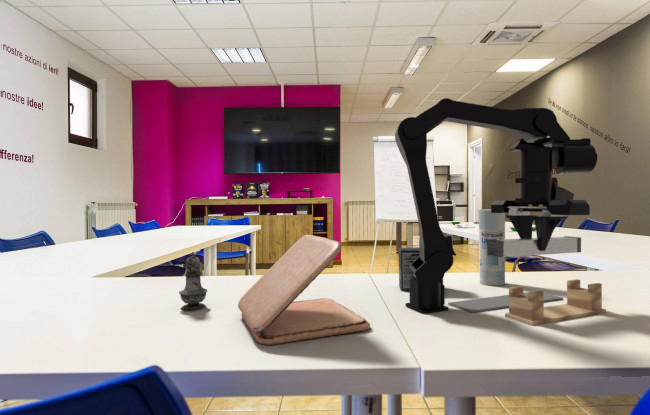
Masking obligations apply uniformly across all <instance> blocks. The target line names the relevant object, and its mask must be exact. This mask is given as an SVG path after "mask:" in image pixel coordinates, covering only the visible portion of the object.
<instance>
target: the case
mask: <svg viewBox="0 0 650 415" xmlns="http://www.w3.org/2000/svg"><path fill="white" fill-rule="evenodd" d="M341 250H342V243H341V242H340V241H338V240H333V239H329V238H327V237H324V236H323V237H322V236H318V235H312V234H305V235H302V236H301V237H300V238H299V239H297V240H296V241H295V242H294V244H292V246H291V247H290V248H288V250H287V251H286V252H284V254H283V255H282V256H281V257H280V258H279V259H278V260H276V262H275V263H274V264H273V265H272V266H271V267H270V268H269V269H268V270H267V271H266V272H265V273H264V274H263V275H262V276H261V277H259V279H258V280H257V281H256V282H255V283H254V284H252V286H251V287H250V288H249V289H248V290H247V291H246V292H245V293H244V294H243V295H242V297H241V298H240V299H239V301H238V303H237V308H238V309H239V311H240V312H241V314H240V315H241V318H242V319H243V320H244V322H245V323H246V325H247V327H248V328H249V330H250V332H251V334H252V335H253V337H254V339H255V341H256V342H257V343H258V344H260V345H264V346H271V345H281V344H286V343H287V344H288V343H294V342H298V341H304V340H305V341H306V340H311V339H317V338H324V337H331V336H337V335H345V334H352V333H358V332H364V331H365V332H366V331H368V330H369V329H370V327H371V323H370V322H369V321H367V320H366V318H364V317H363V316H361V315H359V314H356V312H354V311H352V310H351V309H349V308H348V307H346V306H344V305H342V304H340V303H338V302H337V301H335V300H333V299H331V298H326V297H325V298H315V299H306V300H305V299H304V300H296V299H297V298H298V297H299V296H300V295H301V294H302V293H303V292H304V291H305V290H306V289H307V288H308V287H309V286H310V284H312V283H313V282H314V281H315V280H316V279H317V278H318V276H319V275H320V274H321V273H322V272H324V270H325V269H326V268H327V267H329V265H330V264H331V263H332V262H333V261H334V260H335V259H336V258H337V256H338V255H339V253H340V251H341Z"/></svg>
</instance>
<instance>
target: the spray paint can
mask: <svg viewBox="0 0 650 415" xmlns="http://www.w3.org/2000/svg"><path fill="white" fill-rule="evenodd" d="M488 239H493V240H501V239H506V213H491V208H488V209H485V208H483V209H478V246H479V247H478V251H479V252H478V255H479V256H478V257H479V260H478V261H479V284H481V285H483V286H488V287H489V286H490V287H494V286H495V287H502V286H505V284H506V257H495V256H489V255H487V240H488Z"/></svg>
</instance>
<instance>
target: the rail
mask: <svg viewBox="0 0 650 415" xmlns="http://www.w3.org/2000/svg"><path fill="white" fill-rule="evenodd" d="M572 253H573V254H574V253H582V237H580V236H568V235H567V236H565V235H564V236H554V237H552V236H551V238H550V240H549V243H548V245H547V247H546V250H545V251H540V249H539V245H538V241H537V237H532V238H525V239H520V238H508V239H507V238H505V239H501V240H493V239H488V240H487V255H489V256H495V257H505V258H508V257H510V258H511V257H522V256H523V257H528V256H540V255H554V254H555V255H556V254H557V255H559V254H572Z"/></svg>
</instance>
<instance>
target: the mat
mask: <svg viewBox="0 0 650 415" xmlns="http://www.w3.org/2000/svg"><path fill="white" fill-rule="evenodd" d="M534 291H535V290H534ZM534 291H532V292H534ZM528 292H529V291H528ZM528 292H524V295H525V296H528ZM560 300H564V297H563V296H557V295H553V294H549V293H545V292H544V303H547V302H555V301H560ZM447 303H448V304H447V305H449V306H451V307H453V308H457V309H460V310H463V311H464V312H465V311H466V312H468V313H470V314H473V313H480V312H481V313H482V312H486V311H487V312H488V311H493V310H499V309H500V310H501V309H507V308H508V309H509V294H503V295H497V296H489V297H481V298H474V299H465V300H459V301H451V302H447Z"/></svg>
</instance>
